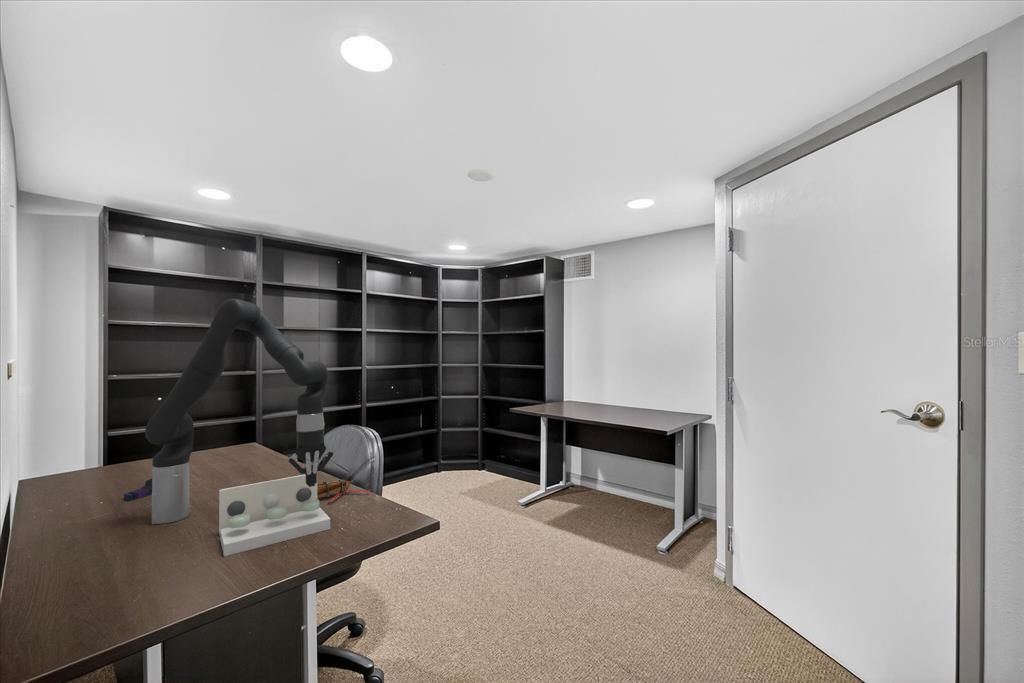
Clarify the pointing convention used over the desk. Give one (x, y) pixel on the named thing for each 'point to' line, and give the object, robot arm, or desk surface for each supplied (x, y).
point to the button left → (239, 521)
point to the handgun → (140, 492)
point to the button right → (310, 505)
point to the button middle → (276, 512)
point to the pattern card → (264, 498)
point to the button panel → (273, 531)
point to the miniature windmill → (335, 488)
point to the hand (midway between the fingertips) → (311, 485)
